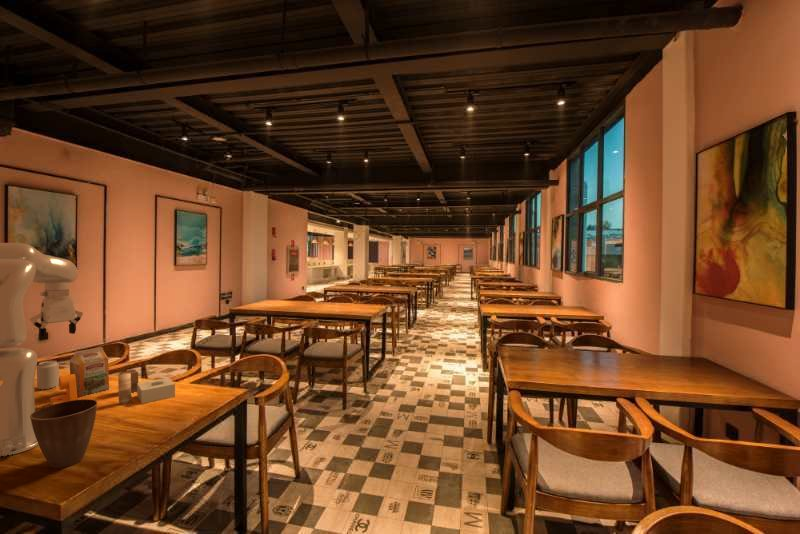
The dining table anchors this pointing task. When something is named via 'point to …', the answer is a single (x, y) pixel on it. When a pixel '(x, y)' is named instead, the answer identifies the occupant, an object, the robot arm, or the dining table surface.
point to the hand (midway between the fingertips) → (58, 335)
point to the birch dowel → (124, 388)
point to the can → (47, 375)
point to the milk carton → (90, 371)
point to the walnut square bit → (133, 380)
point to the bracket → (70, 386)
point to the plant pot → (64, 430)
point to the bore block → (155, 390)
